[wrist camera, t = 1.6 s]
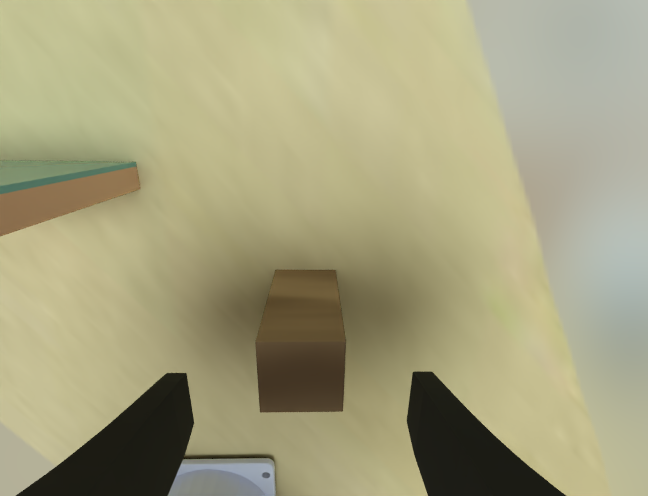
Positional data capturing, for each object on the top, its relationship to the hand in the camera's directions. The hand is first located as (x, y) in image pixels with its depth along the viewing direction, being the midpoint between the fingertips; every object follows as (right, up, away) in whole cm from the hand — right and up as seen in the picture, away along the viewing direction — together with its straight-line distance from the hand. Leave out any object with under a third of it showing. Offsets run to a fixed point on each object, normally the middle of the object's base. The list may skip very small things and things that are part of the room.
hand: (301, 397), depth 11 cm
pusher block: (0, +2, +7) cm, 7 cm away
